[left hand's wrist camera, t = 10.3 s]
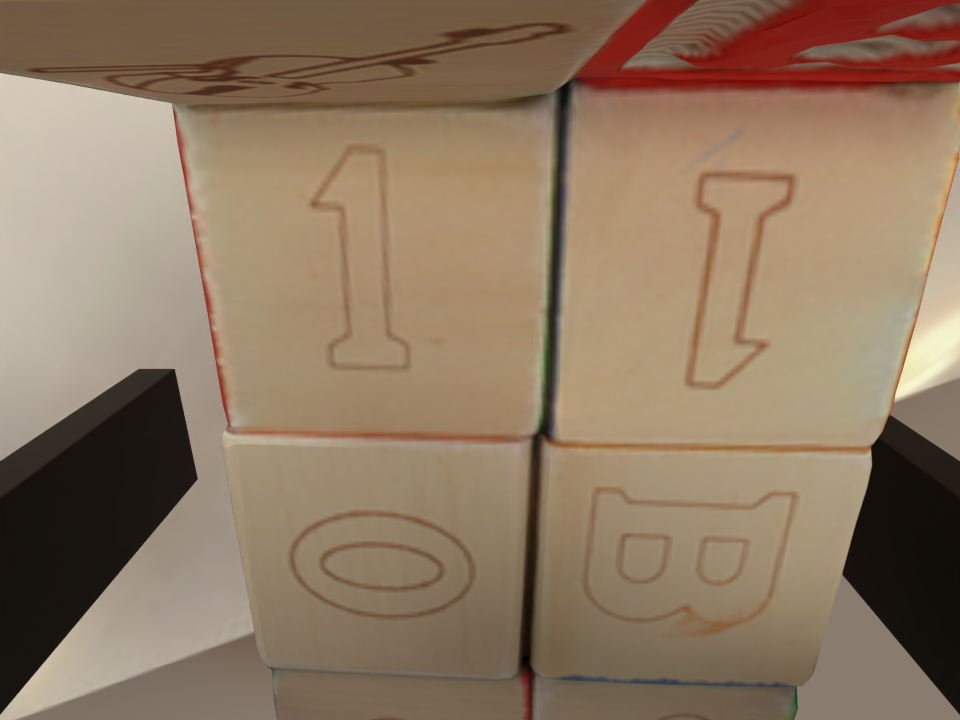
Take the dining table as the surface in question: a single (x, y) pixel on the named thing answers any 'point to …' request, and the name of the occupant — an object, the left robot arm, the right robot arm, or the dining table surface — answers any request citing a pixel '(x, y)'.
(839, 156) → the stack of blocks
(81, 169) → the dining table surface
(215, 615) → the dining table surface
